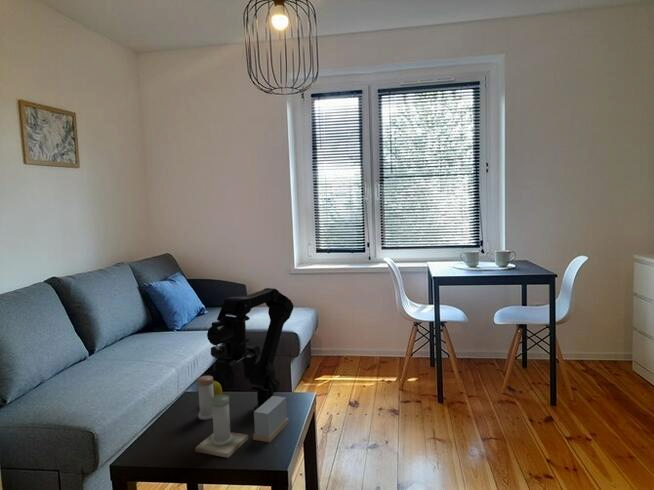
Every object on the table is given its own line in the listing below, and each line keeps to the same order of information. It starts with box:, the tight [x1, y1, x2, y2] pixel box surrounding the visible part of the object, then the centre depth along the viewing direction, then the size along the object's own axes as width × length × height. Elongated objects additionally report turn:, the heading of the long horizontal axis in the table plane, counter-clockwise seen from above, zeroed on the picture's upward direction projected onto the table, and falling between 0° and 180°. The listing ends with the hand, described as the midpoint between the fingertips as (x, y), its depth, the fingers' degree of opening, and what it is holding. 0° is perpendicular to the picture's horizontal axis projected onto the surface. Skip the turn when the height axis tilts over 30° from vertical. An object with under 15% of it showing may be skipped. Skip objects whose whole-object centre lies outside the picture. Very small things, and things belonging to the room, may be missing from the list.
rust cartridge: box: [197, 375, 214, 421], centre depth 154 cm, size 6×6×13 cm
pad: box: [194, 431, 249, 459], centre depth 135 cm, size 11×11×1 cm
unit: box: [252, 395, 290, 443], centre depth 142 cm, size 13×6×8 cm, turn 159°
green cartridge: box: [211, 393, 233, 446], centre depth 135 cm, size 6×6×13 cm
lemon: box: [213, 380, 223, 396], centre depth 165 cm, size 6×6×8 cm
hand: (239, 383), depth 148 cm, fingers open, 9 cm apart
